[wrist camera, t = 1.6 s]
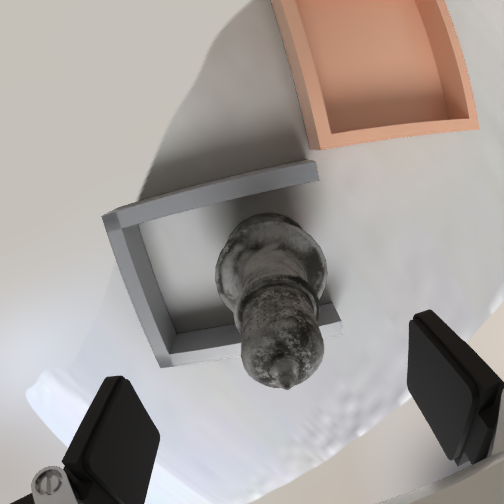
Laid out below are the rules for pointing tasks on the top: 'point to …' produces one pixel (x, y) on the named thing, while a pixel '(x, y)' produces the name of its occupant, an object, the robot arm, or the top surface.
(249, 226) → the chess piece
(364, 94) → the dish
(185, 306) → the top surface
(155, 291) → the cubby
